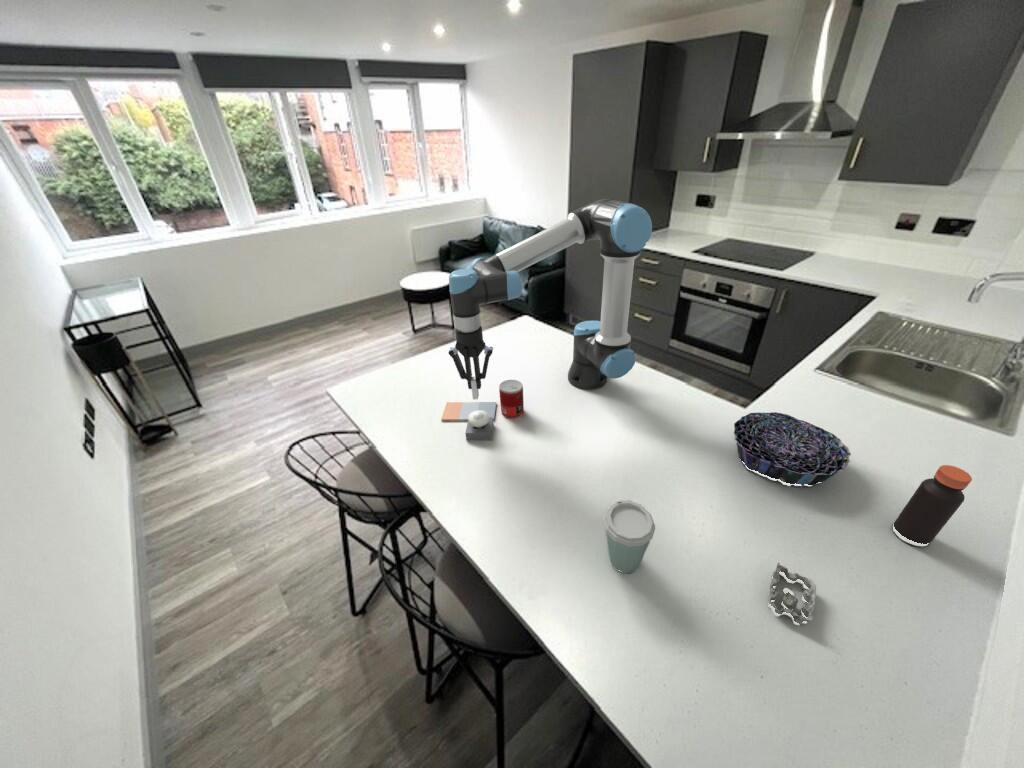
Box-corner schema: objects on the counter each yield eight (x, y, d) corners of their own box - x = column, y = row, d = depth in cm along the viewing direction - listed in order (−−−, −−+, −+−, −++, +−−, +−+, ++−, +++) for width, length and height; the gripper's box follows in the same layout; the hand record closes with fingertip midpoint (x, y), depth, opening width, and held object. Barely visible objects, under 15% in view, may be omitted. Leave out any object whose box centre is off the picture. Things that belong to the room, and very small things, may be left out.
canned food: (521, 419, 139) (520, 392, 134) (498, 417, 141) (496, 391, 135) (525, 406, 146) (524, 380, 140) (503, 404, 147) (501, 378, 141)
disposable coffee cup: (657, 575, 90) (667, 530, 82) (612, 589, 88) (619, 545, 80) (631, 536, 99) (639, 492, 91) (590, 548, 97) (594, 504, 89)
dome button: (490, 420, 136) (489, 407, 133) (488, 433, 131) (487, 419, 128) (471, 420, 136) (469, 407, 134) (468, 433, 131) (466, 419, 128)
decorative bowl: (738, 427, 134) (743, 401, 129) (844, 454, 119) (854, 426, 114) (718, 475, 117) (723, 447, 112) (839, 513, 102) (851, 483, 97)
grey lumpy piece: (771, 571, 90) (776, 559, 88) (811, 589, 87) (818, 577, 84) (762, 611, 83) (768, 599, 81) (806, 633, 79) (814, 621, 77)
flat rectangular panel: (496, 403, 148) (496, 401, 148) (494, 420, 140) (493, 419, 139) (446, 404, 149) (446, 402, 149) (441, 421, 141) (441, 419, 140)
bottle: (883, 523, 99) (925, 461, 88) (913, 523, 98) (958, 461, 88) (905, 548, 93) (952, 485, 82) (937, 548, 93) (988, 485, 82)
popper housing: (493, 424, 138) (492, 417, 136) (491, 440, 131) (490, 432, 130) (469, 424, 138) (468, 417, 137) (466, 440, 132) (465, 433, 130)
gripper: (492, 320, 117) (497, 390, 130) (447, 321, 118) (456, 390, 131) (490, 332, 111) (495, 403, 124) (442, 333, 112) (452, 404, 124)
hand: (475, 396), depth 127 cm, fingers closed
